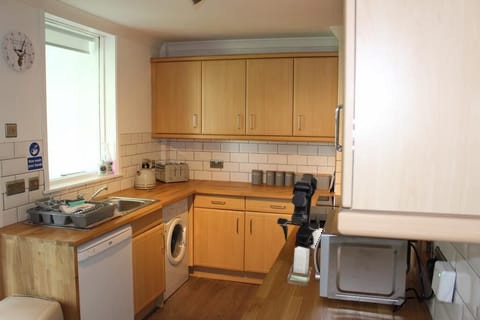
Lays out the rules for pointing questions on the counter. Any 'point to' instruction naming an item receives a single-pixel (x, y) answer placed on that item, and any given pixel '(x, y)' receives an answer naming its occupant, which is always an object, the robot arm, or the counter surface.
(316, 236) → the white cup
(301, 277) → the wooden divided tray
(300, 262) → the skincare box
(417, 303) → the counter surface
